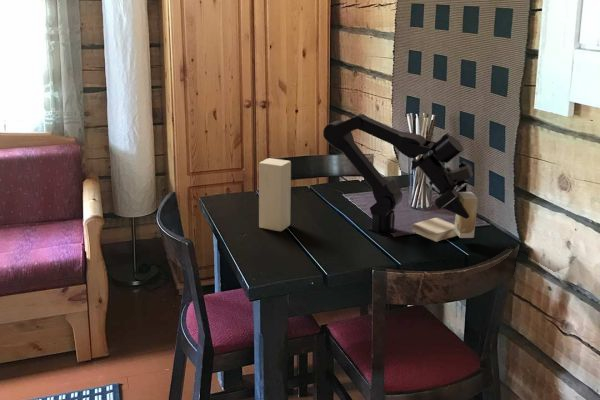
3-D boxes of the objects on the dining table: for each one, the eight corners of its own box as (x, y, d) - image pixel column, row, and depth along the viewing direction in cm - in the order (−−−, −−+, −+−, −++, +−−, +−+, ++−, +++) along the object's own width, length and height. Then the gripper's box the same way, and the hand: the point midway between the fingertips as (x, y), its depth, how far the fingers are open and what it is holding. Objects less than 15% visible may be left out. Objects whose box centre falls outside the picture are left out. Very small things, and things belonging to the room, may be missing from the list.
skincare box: (453, 230, 204) (456, 191, 200) (467, 230, 204) (471, 191, 200) (459, 238, 198) (463, 198, 194) (474, 238, 198) (478, 198, 194)
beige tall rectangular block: (292, 224, 217) (292, 160, 210) (281, 231, 211) (281, 165, 204) (269, 220, 220) (269, 157, 214) (258, 227, 214) (257, 162, 207)
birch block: (436, 243, 204) (436, 233, 203) (412, 232, 212) (413, 223, 211) (459, 236, 209) (460, 226, 208) (435, 226, 217) (436, 217, 216)
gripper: (449, 163, 187) (487, 207, 186) (464, 148, 203) (498, 188, 202) (419, 187, 193) (455, 230, 192) (435, 170, 209) (469, 209, 208)
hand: (470, 213), depth 198 cm, fingers closed on skincare box, 7 cm apart
